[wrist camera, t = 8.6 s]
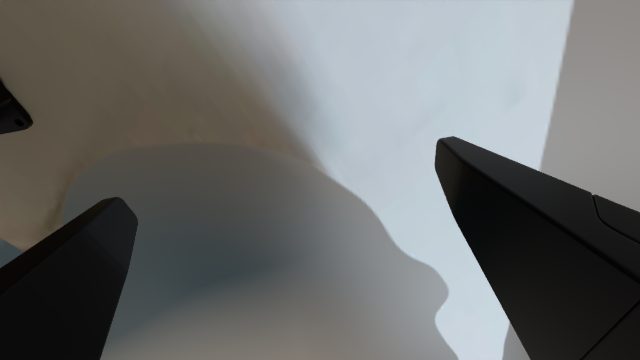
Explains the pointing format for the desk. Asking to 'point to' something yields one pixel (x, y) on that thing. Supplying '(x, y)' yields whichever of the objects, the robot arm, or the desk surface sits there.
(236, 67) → the desk surface
